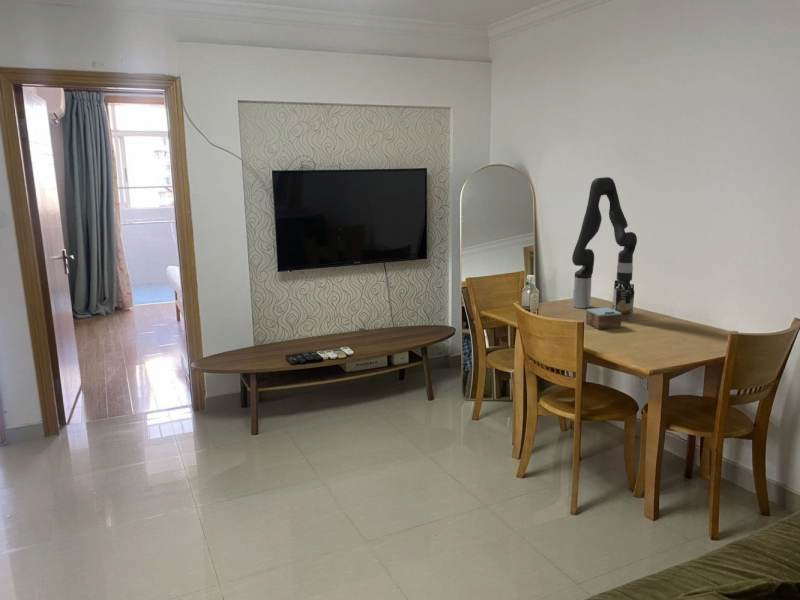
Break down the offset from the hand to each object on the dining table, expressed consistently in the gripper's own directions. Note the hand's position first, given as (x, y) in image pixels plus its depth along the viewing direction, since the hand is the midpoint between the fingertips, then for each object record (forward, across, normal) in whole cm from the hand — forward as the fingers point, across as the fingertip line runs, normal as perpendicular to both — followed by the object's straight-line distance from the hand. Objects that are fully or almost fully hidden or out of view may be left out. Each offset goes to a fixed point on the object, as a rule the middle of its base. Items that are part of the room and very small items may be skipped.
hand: (623, 301), depth 312 cm
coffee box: (+10, 0, 0) cm, 10 cm away
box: (+9, +10, -17) cm, 22 cm away
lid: (+2, +10, -17) cm, 20 cm away
